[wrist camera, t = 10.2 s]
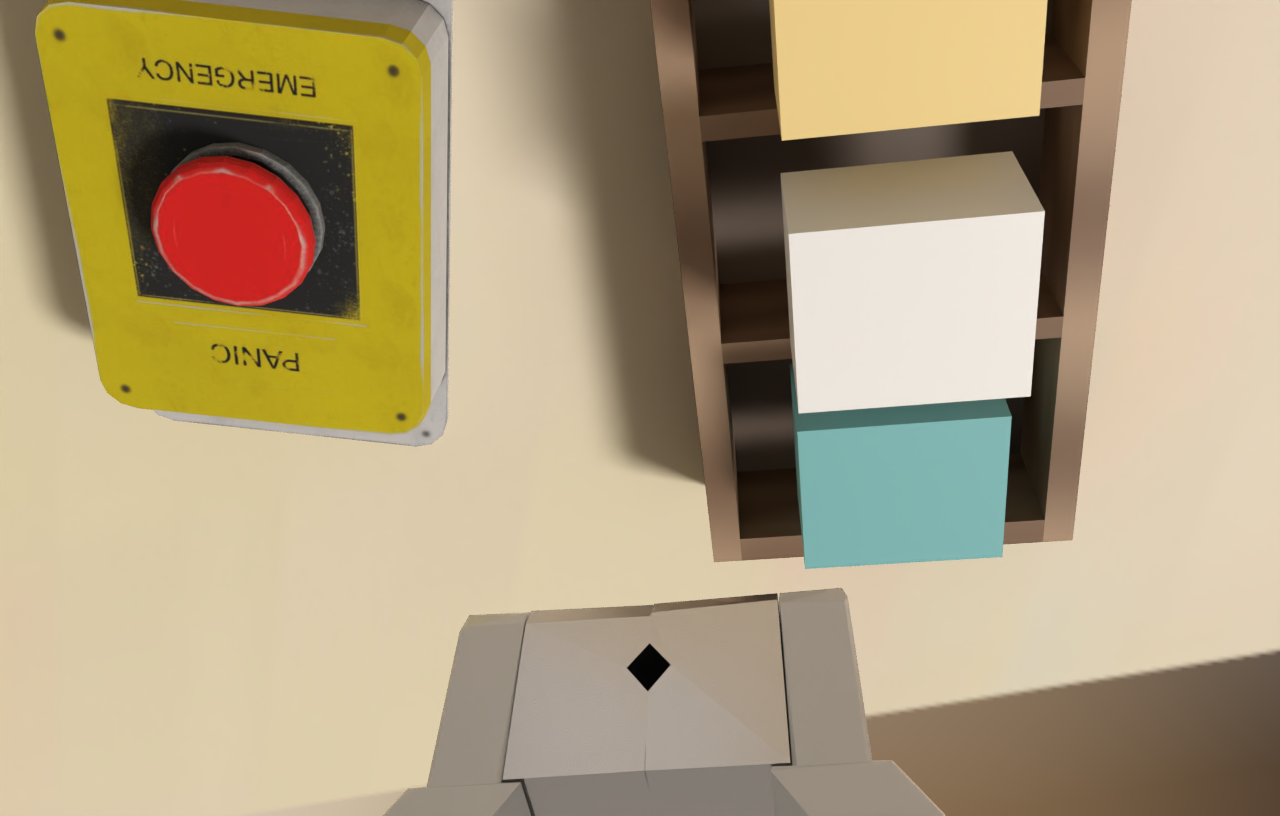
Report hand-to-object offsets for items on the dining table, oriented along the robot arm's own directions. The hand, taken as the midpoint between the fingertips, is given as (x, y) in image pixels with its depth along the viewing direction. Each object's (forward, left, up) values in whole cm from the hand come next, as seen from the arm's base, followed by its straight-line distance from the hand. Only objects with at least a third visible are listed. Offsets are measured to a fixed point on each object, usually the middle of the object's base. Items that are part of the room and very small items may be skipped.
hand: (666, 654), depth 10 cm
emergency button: (+5, -12, -23) cm, 26 cm away
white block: (+6, +4, -19) cm, 20 cm away
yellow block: (0, +4, -20) cm, 20 cm away
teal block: (+12, +4, -20) cm, 24 cm away
